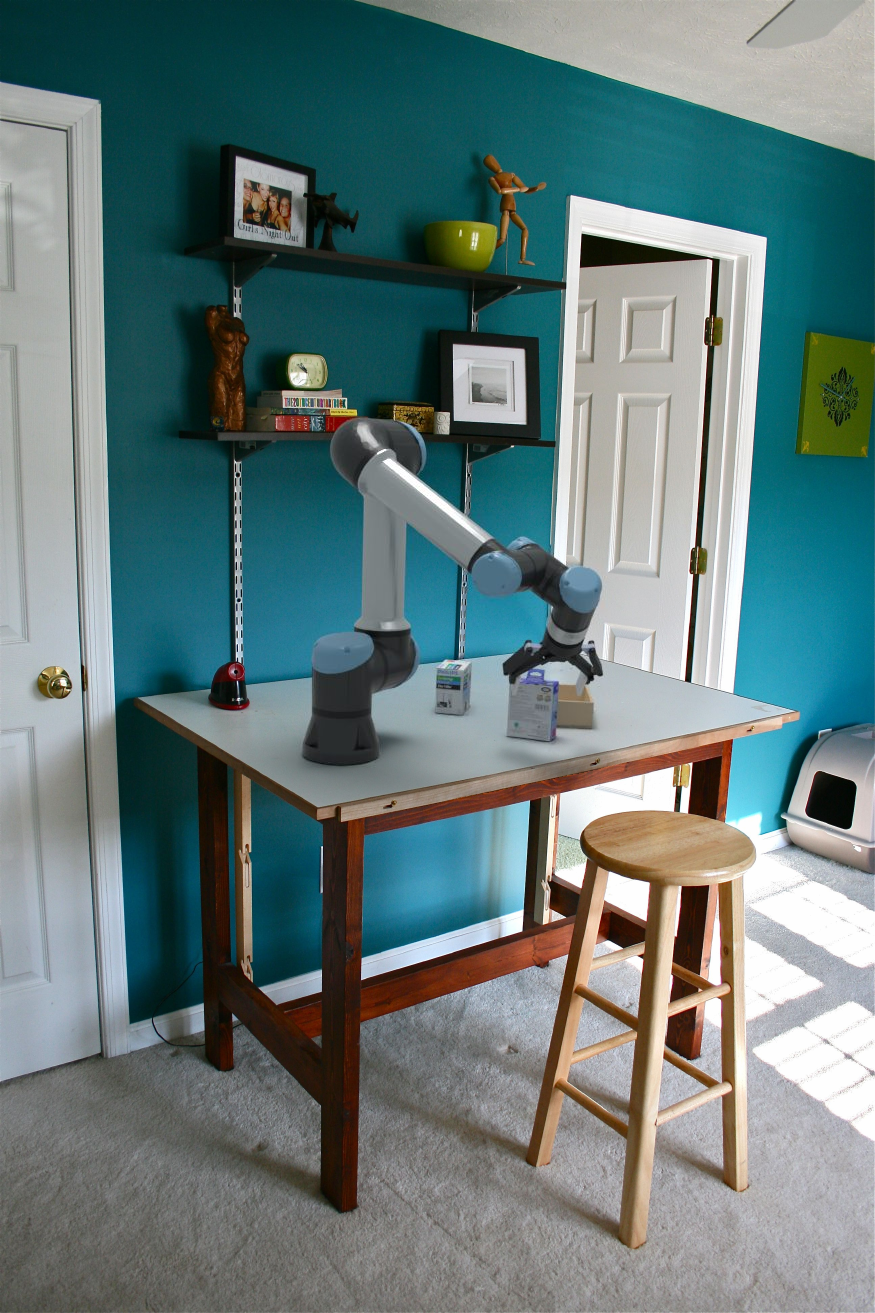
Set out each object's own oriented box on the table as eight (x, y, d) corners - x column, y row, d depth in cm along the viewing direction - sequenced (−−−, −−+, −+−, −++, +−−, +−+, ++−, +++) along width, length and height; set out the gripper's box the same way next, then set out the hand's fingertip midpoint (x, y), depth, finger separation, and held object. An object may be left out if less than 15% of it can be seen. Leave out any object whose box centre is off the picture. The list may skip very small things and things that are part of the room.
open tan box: (523, 725, 221) (524, 699, 220) (520, 685, 259) (521, 663, 258) (592, 729, 220) (593, 702, 219) (579, 688, 258) (580, 666, 257)
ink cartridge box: (557, 735, 213) (561, 670, 211) (551, 742, 208) (555, 675, 205) (512, 730, 217) (515, 665, 214) (506, 736, 211) (509, 670, 209)
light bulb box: (462, 716, 227) (464, 670, 225) (434, 713, 229) (435, 667, 226) (470, 705, 238) (472, 661, 235) (443, 702, 239) (444, 658, 237)
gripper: (502, 646, 184) (487, 705, 201) (633, 647, 186) (607, 706, 204) (499, 613, 188) (484, 674, 205) (627, 615, 191) (602, 675, 208)
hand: (545, 690), depth 205 cm, fingers open, 13 cm apart
